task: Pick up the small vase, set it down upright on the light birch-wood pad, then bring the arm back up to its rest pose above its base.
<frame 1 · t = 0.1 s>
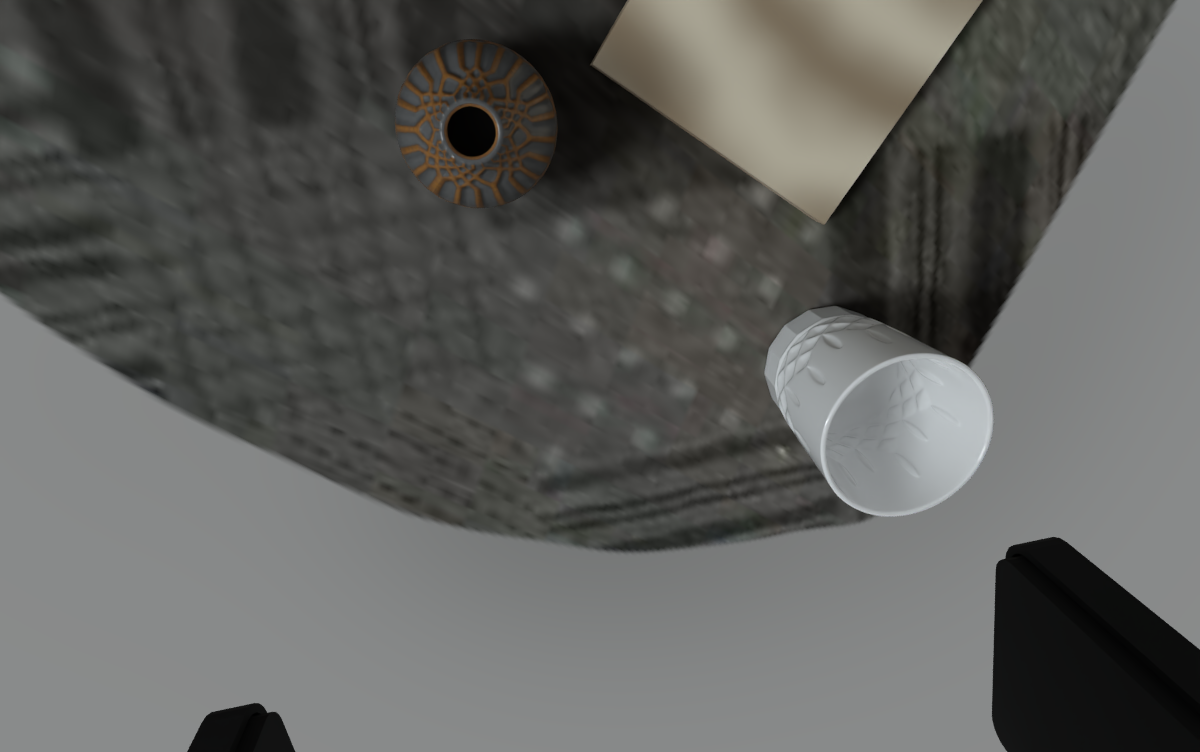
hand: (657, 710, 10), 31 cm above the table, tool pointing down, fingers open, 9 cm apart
birch pad: (792, 16, 36), on the table
white cup: (820, 361, 43), on the table
vase: (481, 123, 36), on the table
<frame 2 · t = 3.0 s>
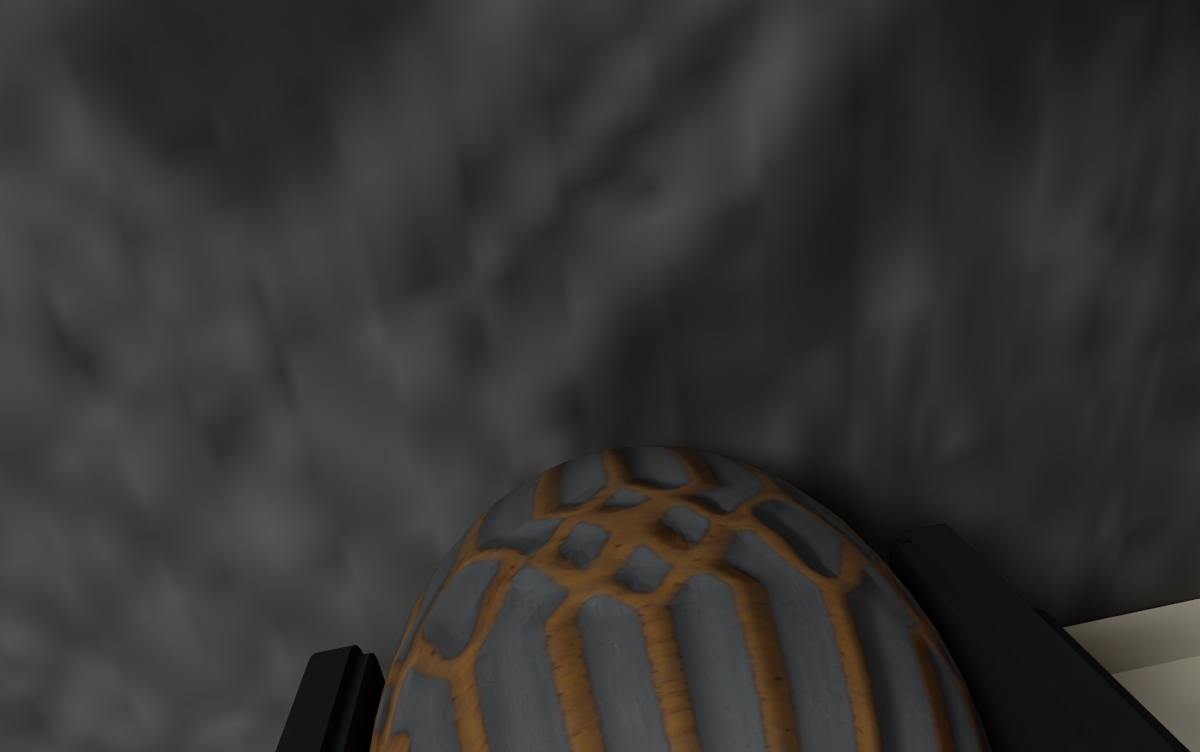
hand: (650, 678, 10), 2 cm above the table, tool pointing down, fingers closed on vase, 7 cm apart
vase: (625, 569, 13), on the table, touching gripper
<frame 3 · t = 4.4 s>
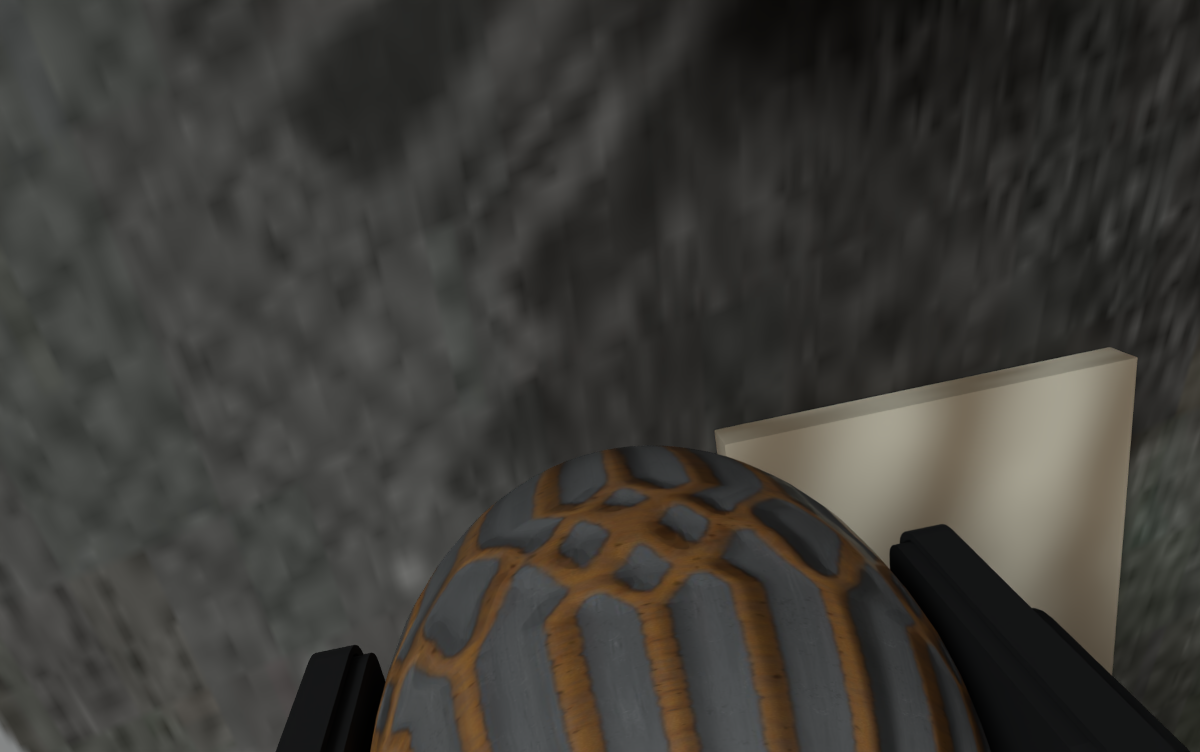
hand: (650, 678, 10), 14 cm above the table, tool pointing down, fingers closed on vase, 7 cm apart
birch pad: (920, 562, 28), on the table
vase: (625, 569, 13), point 12 cm above the table, touching gripper
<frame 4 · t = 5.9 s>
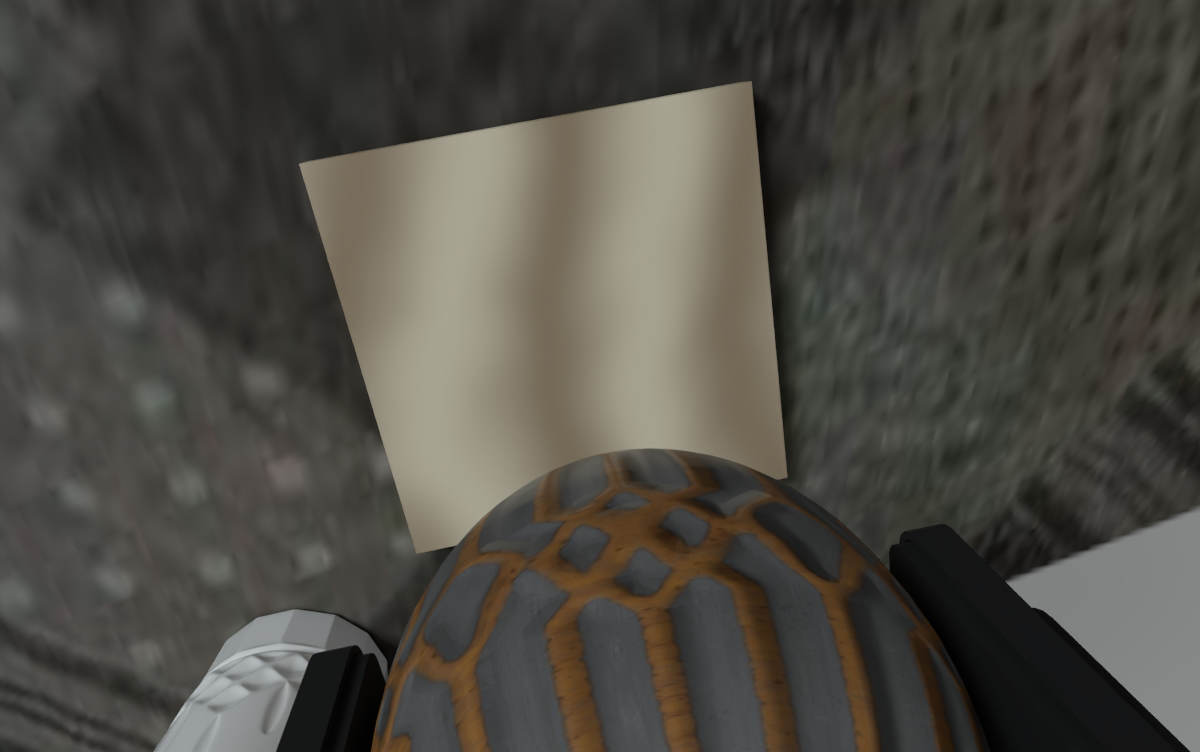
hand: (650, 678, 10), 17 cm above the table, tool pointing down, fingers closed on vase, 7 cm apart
birch pad: (567, 327, 27), on the table
white cup: (306, 673, 31), on the table
vase: (625, 571, 13), point 15 cm above the table, touching gripper
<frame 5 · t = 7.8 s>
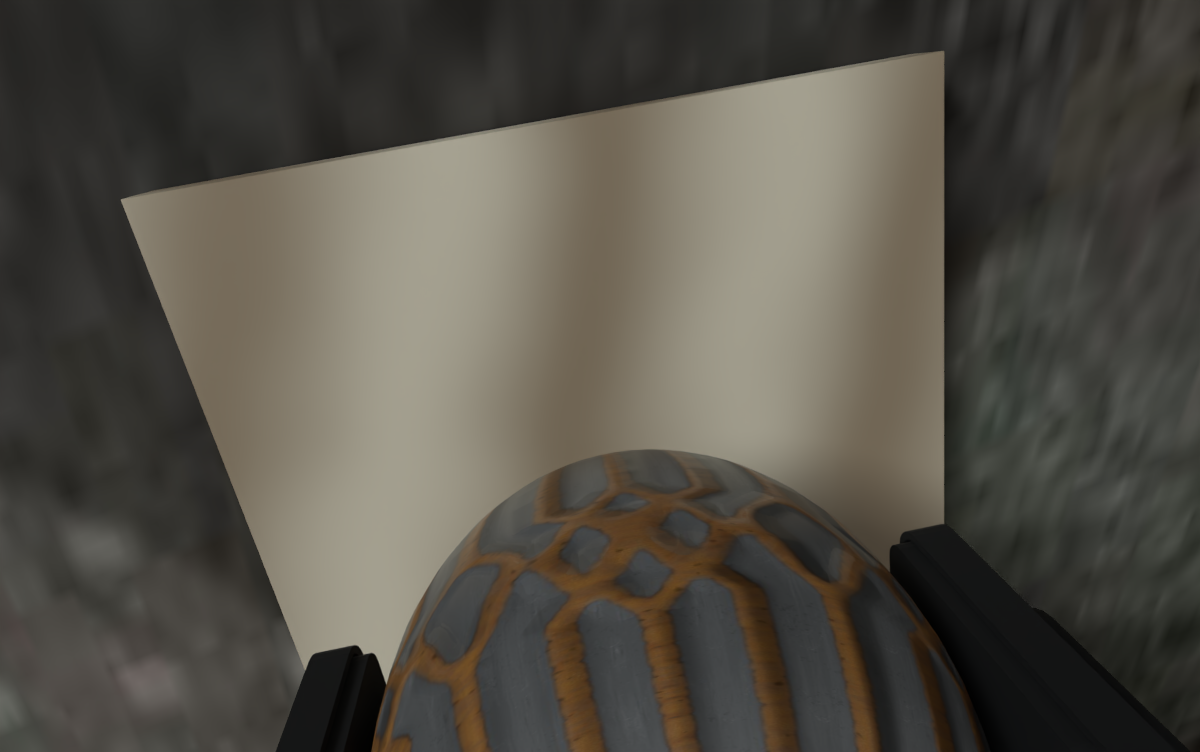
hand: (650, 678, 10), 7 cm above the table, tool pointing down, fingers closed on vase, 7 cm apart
birch pad: (601, 458, 16), on the table
vase: (625, 572, 13), point 4 cm above the table, touching gripper
when the fingers open (5 cm above the table, at t = 9.2 s): vase stays where it is, resting on birch pad.
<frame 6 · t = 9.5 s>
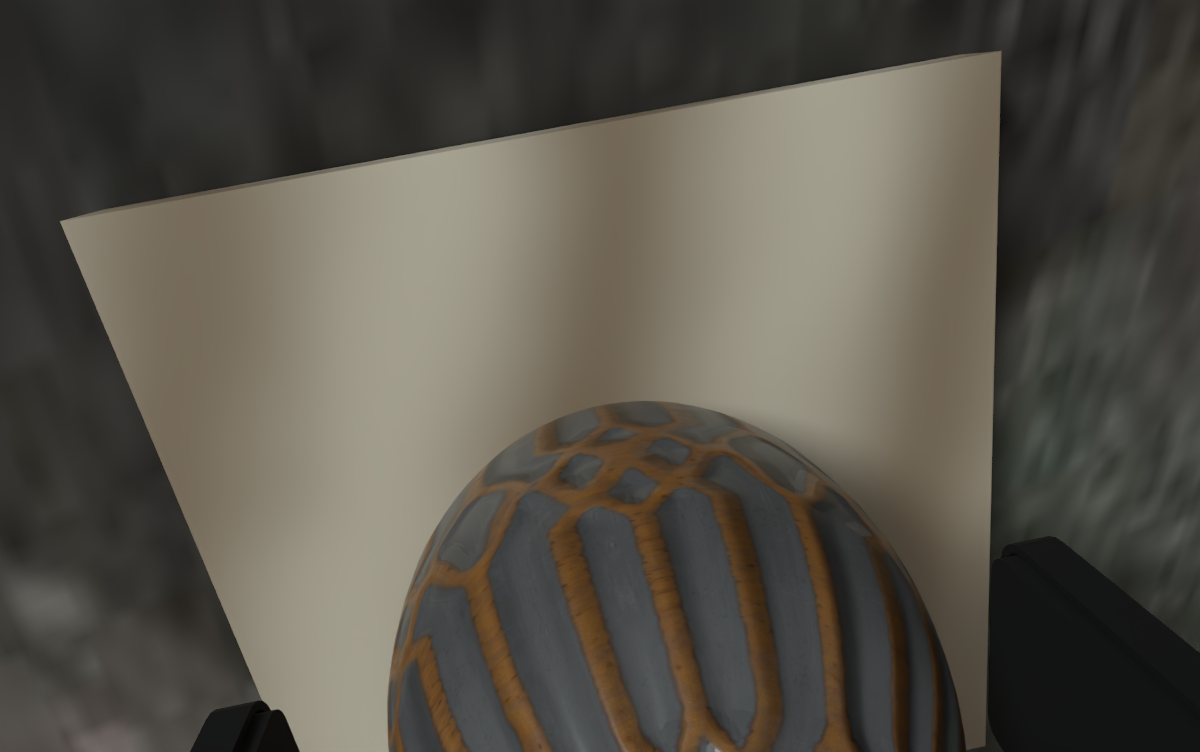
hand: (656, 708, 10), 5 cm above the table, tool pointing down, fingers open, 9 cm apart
birch pad: (609, 503, 15), on the table
vase: (615, 527, 14), point 1 cm above the table, touching birch pad
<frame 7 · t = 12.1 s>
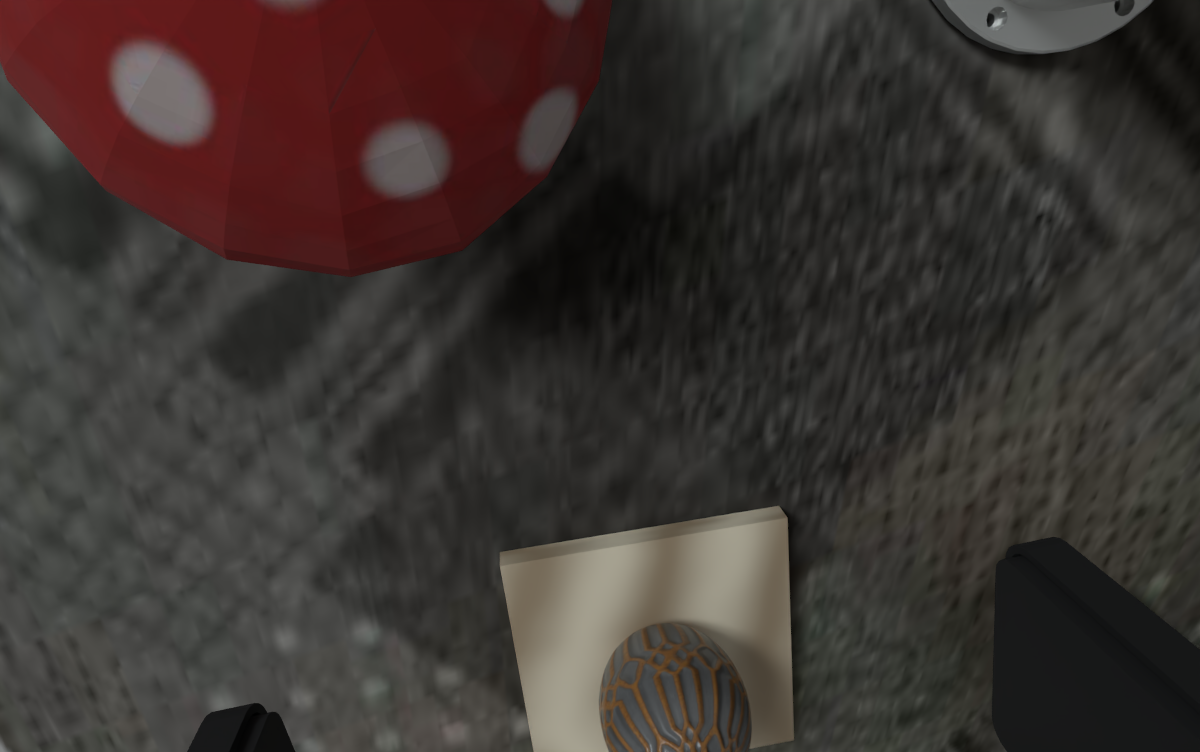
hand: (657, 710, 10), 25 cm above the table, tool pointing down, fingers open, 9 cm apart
birch pad: (653, 644, 40), on the table
vase: (657, 654, 39), point 1 cm above the table, touching birch pad
decorative mushroom: (375, 11, 29), on the table
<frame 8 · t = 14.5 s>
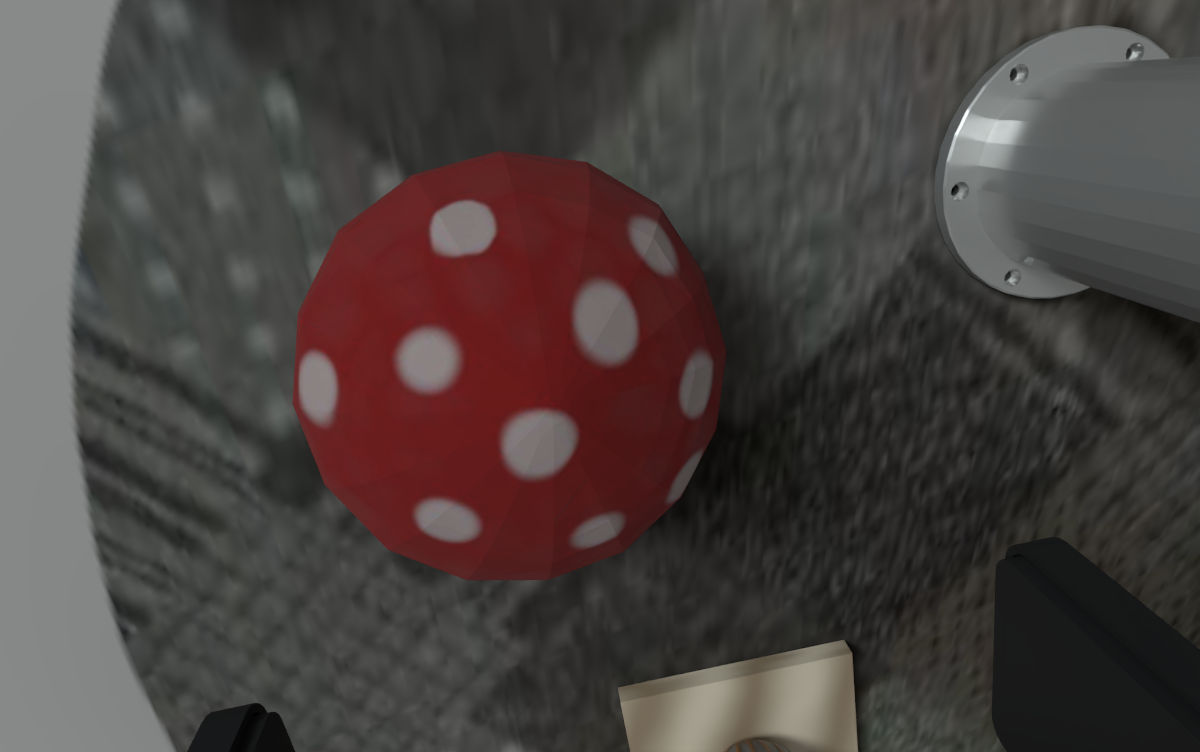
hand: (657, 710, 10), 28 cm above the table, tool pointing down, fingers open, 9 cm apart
birch pad: (742, 749, 48), on the table
decorative mushroom: (520, 309, 37), on the table
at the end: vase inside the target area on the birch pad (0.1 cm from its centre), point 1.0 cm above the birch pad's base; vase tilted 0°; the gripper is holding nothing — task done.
